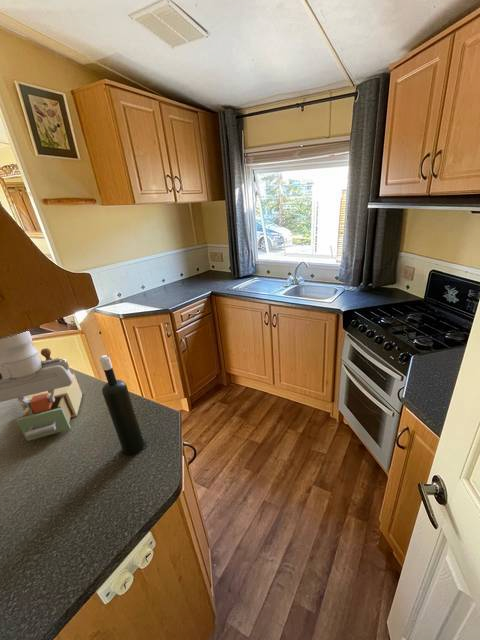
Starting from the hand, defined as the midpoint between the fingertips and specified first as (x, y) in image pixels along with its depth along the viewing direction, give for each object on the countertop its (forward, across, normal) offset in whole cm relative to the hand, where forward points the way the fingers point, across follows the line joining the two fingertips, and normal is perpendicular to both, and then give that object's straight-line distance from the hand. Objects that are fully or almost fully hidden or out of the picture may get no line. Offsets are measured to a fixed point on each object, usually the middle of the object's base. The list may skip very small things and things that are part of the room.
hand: (41, 404), depth 90 cm
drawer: (+9, 0, 0) cm, 9 cm away
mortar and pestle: (+10, +2, -27) cm, 29 cm away
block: (+2, 0, 0) cm, 2 cm away
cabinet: (+10, 0, -11) cm, 15 cm away
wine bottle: (+10, -24, +22) cm, 34 cm away
